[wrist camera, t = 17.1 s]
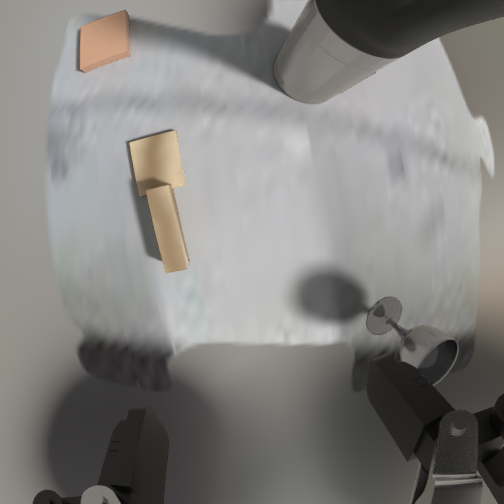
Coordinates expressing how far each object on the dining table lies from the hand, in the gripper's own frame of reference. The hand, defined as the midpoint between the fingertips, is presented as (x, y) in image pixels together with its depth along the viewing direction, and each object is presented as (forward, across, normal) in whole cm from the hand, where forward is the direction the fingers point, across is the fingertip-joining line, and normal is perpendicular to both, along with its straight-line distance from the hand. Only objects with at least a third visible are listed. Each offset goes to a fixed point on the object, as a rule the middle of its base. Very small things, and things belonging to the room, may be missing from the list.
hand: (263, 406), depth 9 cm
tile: (+27, +12, -32) cm, 43 cm away
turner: (+28, +7, -7) cm, 30 cm away
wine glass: (+28, -22, +18) cm, 40 cm away
